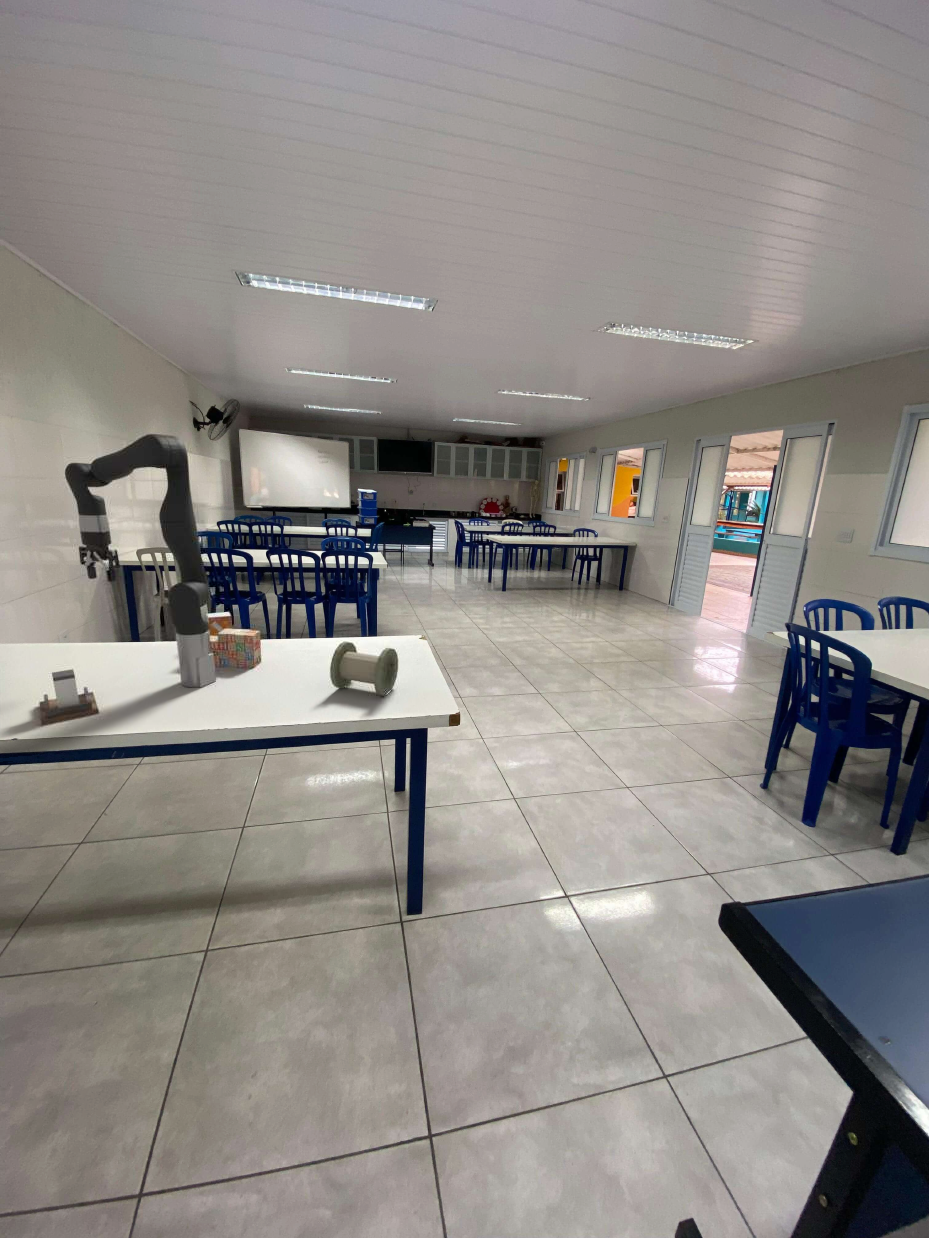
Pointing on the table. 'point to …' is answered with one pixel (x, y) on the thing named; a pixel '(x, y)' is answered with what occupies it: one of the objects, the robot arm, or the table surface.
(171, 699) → the table surface
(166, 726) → the table surface
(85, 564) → the robot arm
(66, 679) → the connector plug
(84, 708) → the holder board
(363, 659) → the spool
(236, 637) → the stack of blocks
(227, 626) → the small box
